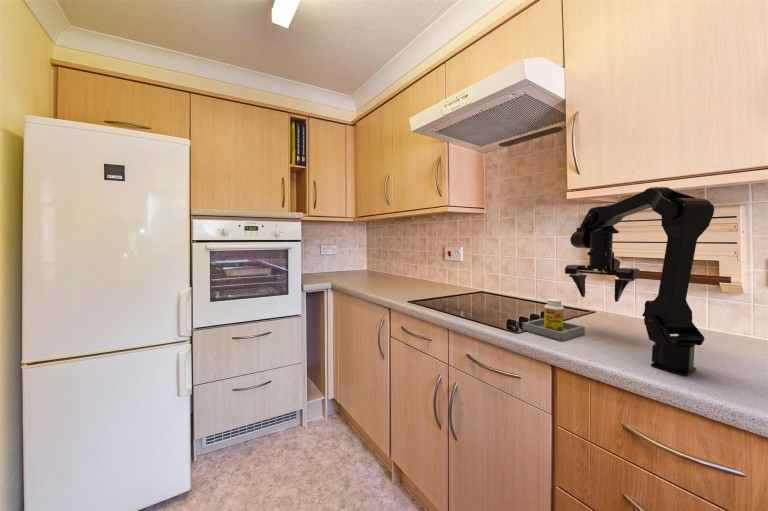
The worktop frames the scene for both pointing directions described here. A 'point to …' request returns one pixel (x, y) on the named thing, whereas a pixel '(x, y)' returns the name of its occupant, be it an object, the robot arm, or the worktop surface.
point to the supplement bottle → (553, 315)
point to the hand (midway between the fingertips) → (599, 299)
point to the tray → (566, 334)
